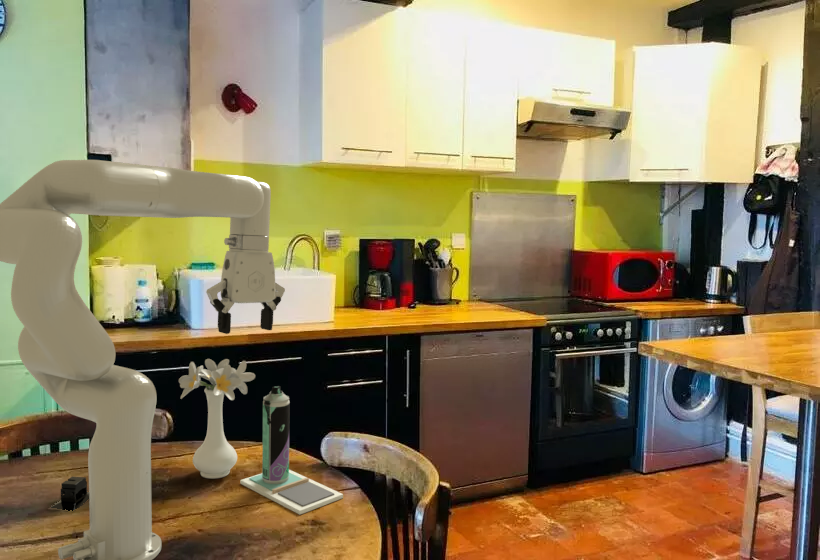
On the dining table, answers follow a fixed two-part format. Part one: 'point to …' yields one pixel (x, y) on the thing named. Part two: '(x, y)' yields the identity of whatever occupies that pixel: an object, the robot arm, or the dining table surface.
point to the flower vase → (216, 413)
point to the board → (294, 492)
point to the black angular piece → (73, 494)
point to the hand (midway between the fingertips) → (245, 331)
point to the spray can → (275, 437)
